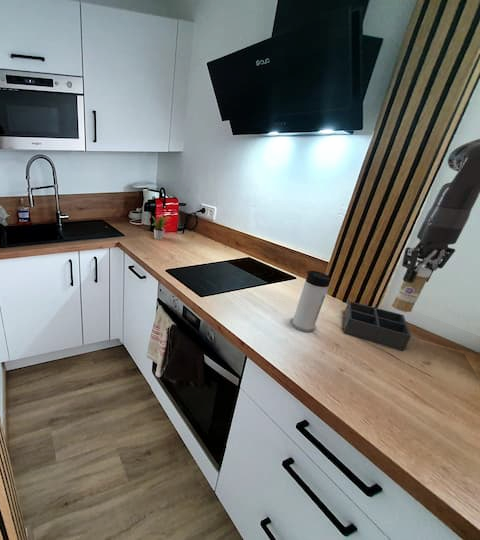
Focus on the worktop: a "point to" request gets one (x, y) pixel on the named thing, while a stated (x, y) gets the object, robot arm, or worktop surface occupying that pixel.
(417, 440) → the worktop surface
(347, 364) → the worktop surface
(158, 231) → the house plant
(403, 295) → the sprinkles bottle
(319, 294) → the travel mug
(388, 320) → the box
